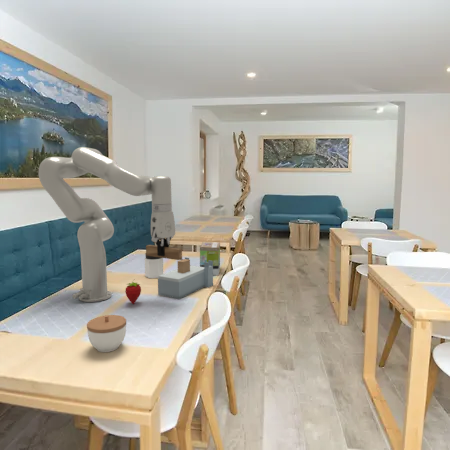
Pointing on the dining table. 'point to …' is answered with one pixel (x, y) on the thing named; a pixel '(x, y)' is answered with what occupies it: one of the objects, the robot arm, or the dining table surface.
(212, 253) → the tea box
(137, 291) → the strawberry
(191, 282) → the toolbox
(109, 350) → the lidded jar
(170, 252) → the brown block
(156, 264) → the jar
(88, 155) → the robot arm
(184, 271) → the lid
